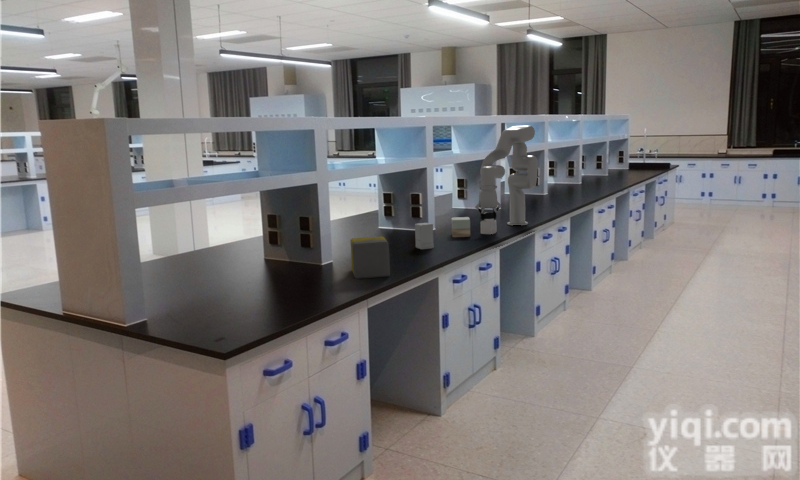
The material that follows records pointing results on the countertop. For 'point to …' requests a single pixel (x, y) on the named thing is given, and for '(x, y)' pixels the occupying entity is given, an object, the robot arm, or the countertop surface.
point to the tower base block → (461, 232)
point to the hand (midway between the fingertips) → (488, 219)
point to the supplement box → (424, 235)
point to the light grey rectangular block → (488, 224)
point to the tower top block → (460, 222)
